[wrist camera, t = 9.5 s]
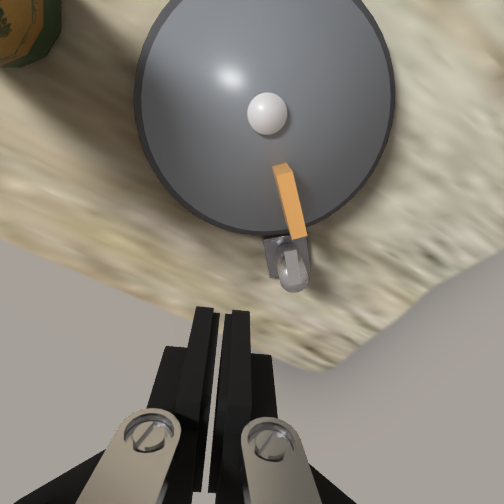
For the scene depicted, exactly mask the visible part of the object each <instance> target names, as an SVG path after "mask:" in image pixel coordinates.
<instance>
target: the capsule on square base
mask: <svg viewBox="0 0 504 504" xmlns="http://www.w3.org/2000/svg"><path fill="white" fill-rule="evenodd" d="M263 242H264V248H265V253H266V259H267V264H268V270H269V276H270V278H273V277H279V279H280V283H281V286H282V287H283V288H284V289H285V290H286V291H288V292H299V291H302V290H303V289H304V288H305V287H306V286H307V285H308V282H309V275H308V273H307V272H308V271H311V268H310V261H309V254H308V246H307V239H306V236H305V237H301V238H297V239H293V240H292V238H291V235H290V233H285V234H277V235H271V236H266V237H263Z"/></svg>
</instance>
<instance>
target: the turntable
mask: <svg viewBox="0 0 504 504" xmlns="http://www.w3.org/2000/svg"><path fill="white" fill-rule="evenodd" d="M390 99H391V93H390V78H389V73H388V68H387V63H386V59H385V56H384V53H383V50H382V47H381V44H380V42H379V40H378V37H377V35H376V33H375V31H374V29H373V27H372V26H371V24H370V23H369V21H368V20H367V18H366V17H365V15H364V14H363V12H362V11H361V10H360V9H359V8H358V7H357V6H356V4H355V3H354V2H353V1H352V0H183V1H182V2H181V3H180V4H179V5H178V6H177V7H176V8H175V9H174V10H173V11H172V13H171V14H170V15H169V17H168V18H167V20H166V21H165V23H164V24H163V26H162V27H161V29H160V31H159V33H158V35H157V37H156V39H155V41H154V42H153V45H152V48H151V50H150V53H149V56H148V59H147V62H146V67H145V71H144V76H143V83H142V95H141V102H142V117H143V123H144V130H145V134H146V137H147V141H148V144H149V147H150V150H151V152H152V154H153V157H154V159H155V161H156V163H157V165H158V167H159V169H160V170H161V172H162V174H163V175H164V177H165V178H166V180H167V181H168V182H169V184H170V185H171V186H172V188H173V189H174V190H175V191H176V192H177V193H178V194H179V195H180V196H181V197H182V198H183V199H184V200H185V201H186V202H187V203H189V204H190V205H191V206H192V207H194V208H195V209H196V210H198V211H199V212H201V213H203V214H204V215H206V216H207V217H209V218H211V219H213V220H216V221H218V222H220V223H222V224H225V225H228V226H232V227H235V228H239V229H245V230H250V231H277V230H284V229H288V230H289V233H290V235H291V238H292V240H293V239H297V238H301V237H305V236H308V235H307V231H306V227H305V224H306V223H309V222H311V221H313V220H315V219H317V218H319V217H322V216H323V215H325V214H326V213H328V212H330V211H331V210H333V209H334V208H336V207H337V206H338V205H339V204H341V203H342V202H343V201H344V200H345V199H347V198H348V197H349V196H350V194H351V193H352V192H353V191H354V190H355V189H356V188H357V187H358V186H359V185H360V183H361V182H362V181H363V179H364V178H365V177H366V175H367V174H368V172H369V170H370V169H371V167H372V165H373V164H374V162H375V160H376V158H377V155H378V153H379V151H380V149H381V146H382V143H383V140H384V137H385V134H386V130H387V125H388V120H389V114H390Z"/></svg>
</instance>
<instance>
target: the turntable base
mask: <svg viewBox="0 0 504 504" xmlns="http://www.w3.org/2000/svg"><path fill="white" fill-rule="evenodd" d="M182 1H183V0H170V1H169V3H168V4H167V5H166V6H165V7H164V9H163V10H162V11H161V13H160V14H159V16H158V17H157V19H156V21H155V22H154V24H153V25H152V27H151V29H150V31H149V34H148V36H147V38H146V40H145V42H144V45H143V48H142V51H141V54H140V58H139V61H138V65H137V71H136V77H135V84H134V109H135V120H136V124H137V129H138V134H139V138H140V141H141V144H142V147H143V150H144V153H145V155H146V157H147V159H148V161H149V163H150V165H151V167H152V169H153V171H154V172H155V174H156V175H157V177H158V179H159V180H160V182H161V183H162V184H163V186H164V187H165V188H166V189H167V190H168V192H169V193H170V194H171V195H172V196H173V197H174V198H175V199H176V200H177V201H178V202H179V203H180V204H181V205H182V206H184V207H185V208H186V209H188V210H189V211H190V212H192V213H193V214H194V215H196V216H197V217H199V218H201V219H203V220H205V221H206V222H208V223H210V224H212V225H215V226H217V227H220V228H222V229H225V230H229V231H233V232H237V233H242V234H249V235H276V234H285V233H289V230H288V229H284V230H277V231H250V230H245V229H239V228H235V227H232V226H228V225H225V224H222V223H220V222H218V221H216V220H213V219H211V218H209V217H207V216H206V215H204V214H203V213H201V212H199V211H198V210H196V209H195V208H194V207H192V206H191V205H190V204H189V203H187V202H186V201H185V200H184V199H183V198H182V197H181V196H180V195H179V194H178V193H177V192H176V191H175V190H174V189H173V188H172V186H171V185H170V184H169V182H168V181H167V180H166V178H165V177H164V175H163V174H162V172H161V170H160V169H159V167H158V165H157V163H156V161H155V159H154V157H153V154H152V152H151V150H150V147H149V144H148V141H147V137H146V134H145V130H144V123H143V117H142V102H141V95H142V83H143V76H144V71H145V67H146V62H147V59H148V56H149V53H150V50H151V48H152V45H153V42H154V41H155V39H156V37H157V35H158V33H159V31H160V29H161V27H162V26H163V24H164V23H165V21H166V20H167V18H168V17H169V15H170V14H171V13H172V11H173V10H174V9H175V8H176V7H177V6H178V5H179V4H180V3H181V2H182ZM352 1H353V2H354V3H355V4H356V6H357V7H358V8H359V9H360V10H361V11H362V12H363V14H364V15H365V17H366V18H367V20H368V21H369V23H370V24H371V26H372V27H373V29H374V31H375V33H376V35H377V37H378V40H379V42H380V44H381V47H382V50H383V53H384V56H385V59H386V63H387V68H388V73H389V78H390V93H391V99H390V114H389V120H388V125H387V130H386V134H385V137H384V140H383V143H382V146H381V149H380V151H379V153H378V155H377V158H376V160H375V162H374V164H373V165H372V167H371V169H370V170H369V172H368V174H367V175H366V177H365V178H364V179H363V181H362V182H361V183H360V185H359V186H358V187H357V188H356V189H355V190H354V191H353V192H352V193H351V194H350V196H349V197H348V198H347V199H345V200H344V201H343V202H342V203H341V204H339V205H338V206H337V207H336V208H334V209H333V210H331V211H330V212H328V213H326V214H325V215H323V216H322V217H319V218H317V219H315V220H313V221H311V222H309V223H306V224H305V227H308V226H311V225H314V224H316V223H317V222H319V221H321V220H323V219H325V218H327V217H329V216H330V215H332V214H333V213H334V212H336V211H337V210H339V209H340V208H341V207H343V206H344V205H345V204H346V203H347V202H348V201H349V200H351V199H352V198H353V197H354V196H355V194H356V193H357V192H358V191H359V190H360V189H361V188H362V187H363V185H364V184H365V183H366V181H367V180H368V178H369V177H370V176H371V174H372V173H373V171H374V169H375V167H376V166H377V164H378V162H379V160H380V158H381V156H382V154H383V151H384V148H385V146H386V143H387V141H388V137H389V133H390V130H391V126H392V121H393V114H394V107H395V83H394V74H393V67H392V63H391V58H390V54H389V50H388V48H387V45H386V42H385V40H384V37H383V34H382V32H381V30H380V29H379V27H378V25H377V23H376V21H375V19H374V17H373V16H372V14H371V13H370V12H369V10H368V9H367V8H366V6H365V5H364V3H363V2H362V1H361V0H352Z"/></svg>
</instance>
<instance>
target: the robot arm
mask: <svg viewBox="0 0 504 504" xmlns="http://www.w3.org/2000/svg"><path fill="white" fill-rule="evenodd" d="M213 310H214V308H209V307H198V306H197V307H196V310H195V315H194V320H193V324H192V329H191V333H190V338H189V343H188V347H187V348H184V347H173V346H166V347H165V349H164V352H163V356H162V359H161V362H160V366H159V369H158V372H157V375H156V379H155V382H154V385H153V389H152V392H151V395H150V399H149V402H148V405H147V408H146V409H143V410H139V411H137V412H135V413H132V414H131V415H130V416H128V417H127V418H126V419H124V421H123V422H122V423H121V424H120V426H119V427H118V429H117V431H116V433H115V434H114V436H113V438H112V440H111V442H110V443H109V445H108V447H107V449H105V450H103V451H102V452H100V453H99V454H96V455H95V456H93V457H92V458H90V459H88V460H86V461H85V462H83V463H81V464H79V465H78V466H76V467H74V468H72V469H71V470H69V471H67V472H66V473H64V474H62V475H61V476H59V477H57V478H56V479H54V480H52V481H50V482H48V483H47V484H45V485H43V486H42V487H40V488H38V489H36V490H35V491H33V492H31V493H30V494H28V495H26V496H24V497H23V498H21V499H19V500H18V501H17V502H15V503H14V504H191V503H192V495H193V492H201V488H202V479H203V469H204V460H205V451H206V441H207V431H208V422H209V413H210V404H211V394H212V384H213V375H214V365H215V355H216V346H217V336H218V327H219V317H220V313H213ZM216 397H217V398H216V409H215V419H214V430H213V441H212V452H211V464H210V475H209V486H208V493H216V500H215V504H356V503H355V502H354V501H353V500H351V499H350V498H349V497H348V496H346V495H345V494H344V493H343V492H342V491H341V490H340V489H338V488H337V487H336V486H335V485H334V484H332V483H331V482H330V481H329V480H328V479H326V478H325V477H324V476H323V475H322V474H321V473H319V472H318V471H317V470H316V469H315V468H314V467H312V466H311V465H310V464H309V463H308V460H307V457H306V454H305V451H304V448H303V445H302V442H301V439H300V438H299V435H298V433H297V432H296V431H295V430H294V428H293V427H292V426H291V425H289V424H288V423H286V422H284V421H282V420H280V419H278V415H277V405H276V395H275V385H274V376H273V366H272V357H271V355H265V354H253V353H251V346H250V312H249V311H240V310H232V314H225V321H224V331H223V340H222V349H221V358H220V368H219V377H218V386H217V396H216Z"/></svg>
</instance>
